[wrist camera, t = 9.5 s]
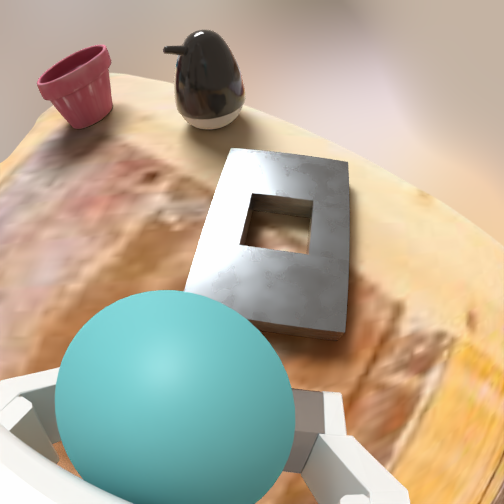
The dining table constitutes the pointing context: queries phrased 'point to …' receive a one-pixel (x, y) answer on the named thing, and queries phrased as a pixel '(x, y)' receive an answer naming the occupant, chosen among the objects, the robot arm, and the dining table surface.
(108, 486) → the teal peg
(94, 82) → the plant pot
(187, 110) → the pump dispenser
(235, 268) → the socket plate
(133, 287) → the dining table surface
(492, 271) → the dining table surface
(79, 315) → the dining table surface
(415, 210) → the dining table surface
